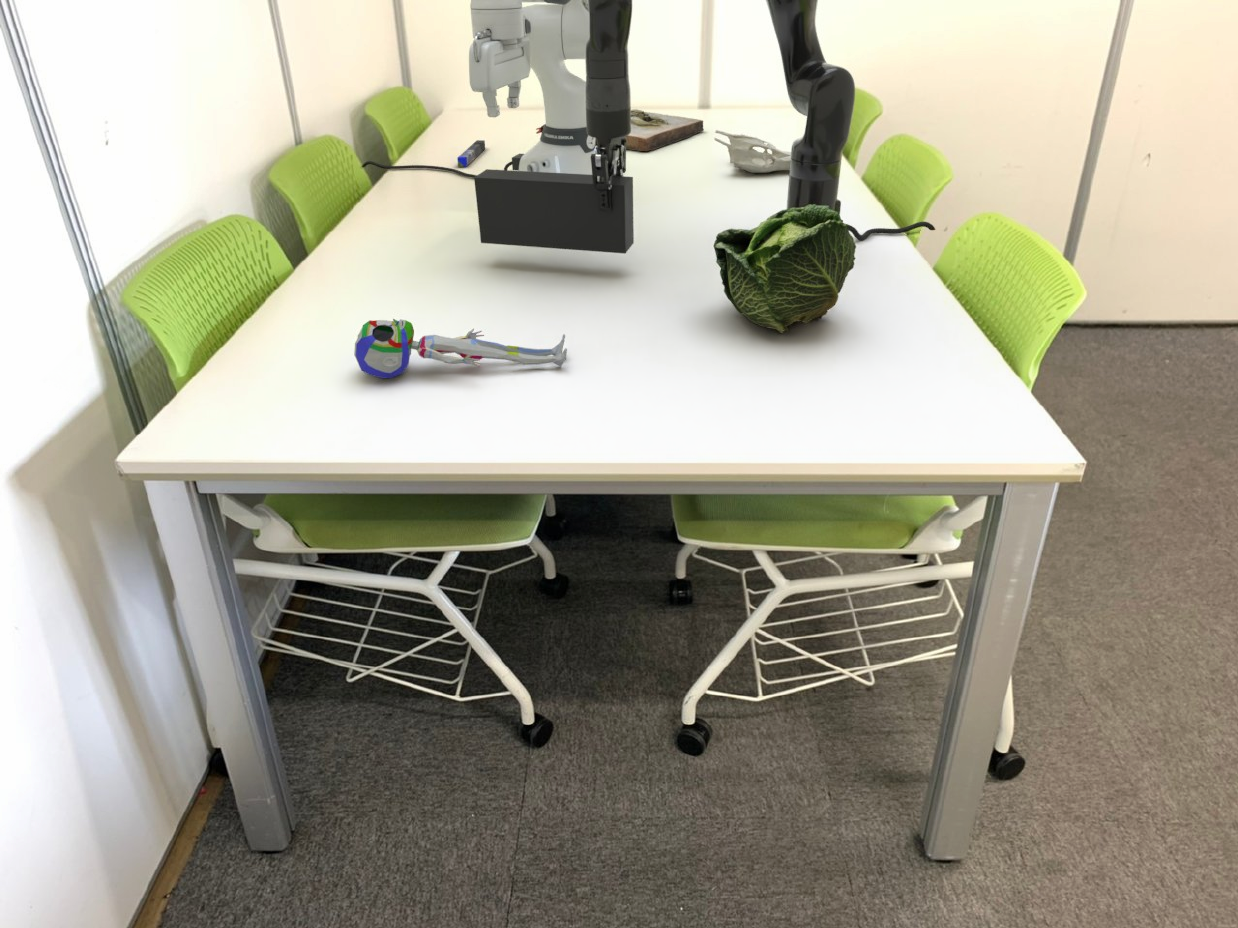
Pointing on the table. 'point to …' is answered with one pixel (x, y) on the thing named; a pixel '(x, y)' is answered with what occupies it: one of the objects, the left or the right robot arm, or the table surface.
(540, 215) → the box
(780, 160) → the anatomical model
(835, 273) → the vegetable
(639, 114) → the plaque
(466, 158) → the pillar
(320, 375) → the table surface
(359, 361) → the toy
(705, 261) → the table surface
